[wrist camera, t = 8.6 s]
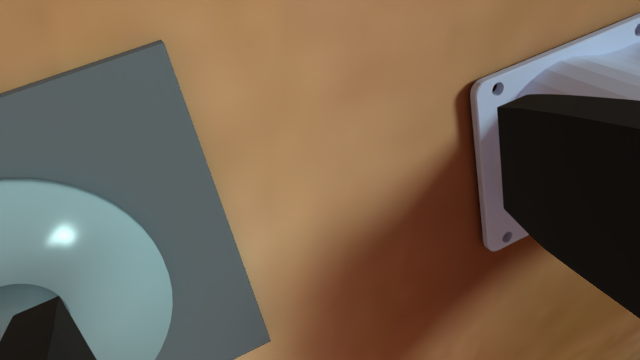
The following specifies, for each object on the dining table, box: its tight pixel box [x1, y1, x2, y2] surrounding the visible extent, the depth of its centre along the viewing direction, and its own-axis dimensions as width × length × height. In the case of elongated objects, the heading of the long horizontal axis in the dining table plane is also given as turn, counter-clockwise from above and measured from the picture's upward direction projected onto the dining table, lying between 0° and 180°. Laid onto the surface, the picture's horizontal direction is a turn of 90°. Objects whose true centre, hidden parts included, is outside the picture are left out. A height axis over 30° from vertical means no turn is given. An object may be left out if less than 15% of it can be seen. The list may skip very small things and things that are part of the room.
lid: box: [0, 177, 173, 360], centre depth 17 cm, size 9×9×4 cm
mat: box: [0, 40, 271, 360], centre depth 18 cm, size 14×12×1 cm
